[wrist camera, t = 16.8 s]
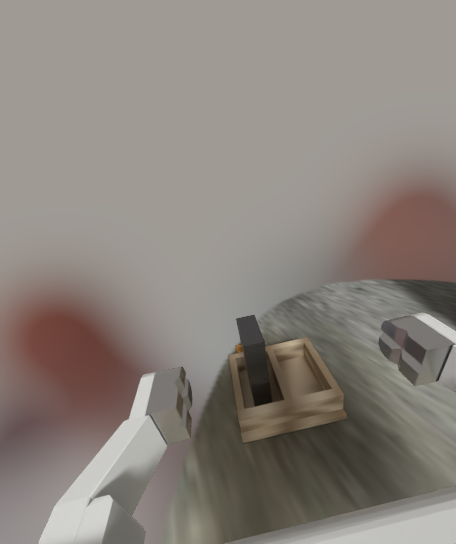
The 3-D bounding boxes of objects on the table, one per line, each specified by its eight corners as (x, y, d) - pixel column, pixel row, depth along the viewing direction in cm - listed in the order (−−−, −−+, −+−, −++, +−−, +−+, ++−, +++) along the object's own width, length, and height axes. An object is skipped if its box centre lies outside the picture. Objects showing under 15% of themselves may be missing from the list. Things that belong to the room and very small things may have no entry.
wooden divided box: (306, 349, 37) (305, 328, 35) (346, 418, 27) (350, 394, 25) (231, 366, 37) (226, 346, 35) (243, 443, 26) (236, 420, 24)
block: (263, 373, 34) (254, 314, 28) (272, 404, 29) (264, 341, 24) (247, 377, 34) (236, 318, 28) (255, 408, 29) (242, 346, 24)
